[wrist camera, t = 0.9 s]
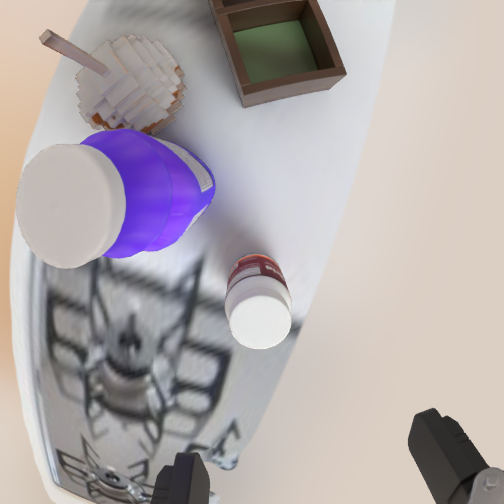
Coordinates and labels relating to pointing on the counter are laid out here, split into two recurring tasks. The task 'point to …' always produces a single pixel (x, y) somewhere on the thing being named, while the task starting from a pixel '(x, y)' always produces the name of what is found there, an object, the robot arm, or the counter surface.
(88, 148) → the bottle
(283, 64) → the organiser
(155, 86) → the decorative ornament
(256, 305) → the pill bottle
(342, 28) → the counter surface
